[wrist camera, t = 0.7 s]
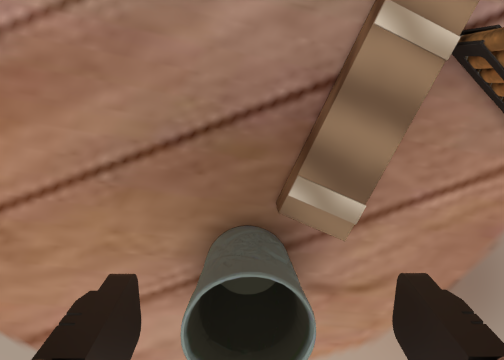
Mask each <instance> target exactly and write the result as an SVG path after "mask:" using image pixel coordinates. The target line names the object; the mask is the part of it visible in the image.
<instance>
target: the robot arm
mask: <svg viewBox="0 0 504 360" xmlns="http://www.w3.org/2000/svg"><path fill="white" fill-rule="evenodd" d="M393 330H394V333H395V337H396V339H397V341H398V343H399V344H400V346H401V348H402V350H403V351H404V353H405V355H406V356H407V359H408V360H504V343H503V342H502V341H501V340H500V339H499V338H498V337H497V335H496V334H495V333H494V332H493V331H492V330H491V329H490V328H489V327H488V326H487V325H486V324H483V321H482V320H481V319H480V318H479V317H478V316H477V315H476V314H474V311H473V310H472V309H471V308H470V307H469V306H468V305H467V304H466V303H465V302H464V301H463V300H462V299H461V298H459V297H457V296H456V295H454V294H452V293H451V292H449V291H447V290H442V289H441V288H440V287H439V286H438V285H437V284H436V283H435V282H434V281H433V279H432V278H431V277H430V276H429V275H428V274H426V273H401V274H399V276H398V279H397V285H396V293H395V301H394V310H393ZM140 331H141V310H140V299H139V289H138V279H137V276H136V274H110V275H108V277H107V278H106V280H105V281H104V283H103V284H102V285H101V287H100V288H99V290H98V291H89V292H88V293H86V294H85V295H84V296H82V297H81V298H79V299H78V300H76V301H75V302H74V304H73V305H72V306H71V308H70V309H69V310H68V312H67V314H66V315H65V316H64V317H63V318H62V320H61V321H60V322H59V326H56V328H55V329H54V330H53V332H52V333H51V334H50V336H49V337H48V338H47V340H46V341H45V342H44V344H43V345H42V346H41V348H40V349H39V350H38V352H37V353H36V354H35V356H34V357H33V358H32V360H130V359H131V357H132V355H133V352H134V350H135V347H136V345H137V342H138V340H139V336H140Z"/></svg>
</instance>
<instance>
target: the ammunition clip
mask: <svg viewBox="0 0 504 360" xmlns="http://www.w3.org/2000/svg"><path fill="white" fill-rule="evenodd" d="M459 37H460V39H459V41H458V43H457V45H456V46H455V48H454V50H453V52H452V55H453V56H454V57H455V58H456V59H457V60H458V61H459V63H460V64H461V65H462V66H463V67H464V68H465V69H466V71H467V72H468V73H469V74H470V75H471V76H472V77H473V79H474V80H475V81H476V82H477V83H478V84H479V85H480V87H481V88H482V89H483V90H484V91H485V92H486V93H487V95H488V96H489V97H490V98H491V99H492V100H493V101H494V102H495V104H496V105H497V106H498V107H499V108H500V109H501V110H502V112H503V113H504V27H503V28H502V27H501V26H500V25H494V26H488V27H482V28H475V29H469V30H463V31H462V32H461V34H460V36H459Z"/></svg>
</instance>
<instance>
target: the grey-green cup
mask: <svg viewBox="0 0 504 360" xmlns="http://www.w3.org/2000/svg"><path fill="white" fill-rule="evenodd" d="M315 339H316V323H315V318H314V313H313V311H312V308H311V306H310V304H309V302H308V300H307V298H306V296H305V294H304V292H303V290H302V288H301V286H300V283H299V281H298V278H297V275H296V273H295V271H294V268H293V266H292V263H291V262H290V259H289V256H288V254H287V251H286V249H285V247H284V246H283V244H282V243H281V241H280V240H279V239H278V238H277V237H276V236H275V235H273V234H272V233H271V232H269V231H267V230H265V229H262V228H260V227H255V226H240V227H236V228H232V229H230V230H228V231H226V232H225V233H223V234H222V235H221V236H219V237H218V238H217V240H216V241H215V242H214V243H213V244H212V246H211V248H210V250H209V252H208V255H207V258H206V260H205V264H204V268H203V270H202V273H201V275H200V278H199V281H198V284H197V287H196V289H195V291H194V293H193V295H192V297H191V299H190V301H189V304H188V306H187V309H186V311H185V314H184V317H183V321H182V325H181V345H182V348H183V352H184V354H185V356H186V358H187V360H307V359H308V358H309V356H310V355H311V353H312V350H313V347H314V344H315Z"/></svg>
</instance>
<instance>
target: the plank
mask: <svg viewBox="0 0 504 360" xmlns="http://www.w3.org/2000/svg"><path fill="white" fill-rule="evenodd" d="M478 2H479V0H376V1H375V3H374V5H373V7H372V9H371V11H370V13H369V15H368V17H367V19H366V21H365V23H364V25H363V27H362V29H361V31H360V33H359V35H358V38H357V40H356V42H355V44H354V46H353V48H352V50H351V52H350V54H349V56H348V58H347V60H346V62H345V64H344V66H343V68H342V70H341V72H340V74H339V76H338V78H337V80H336V82H335V84H334V86H333V88H332V90H331V92H330V94H329V96H328V98H327V100H326V102H325V104H324V107H323V109H322V111H321V113H320V115H319V117H318V119H317V121H316V123H315V125H314V127H313V129H312V131H311V133H310V135H309V137H308V139H307V141H306V143H305V145H304V147H303V149H302V151H301V153H300V155H299V157H298V159H297V161H296V163H295V165H294V167H293V169H292V171H291V173H290V175H289V178H288V180H287V182H286V184H285V186H284V188H283V190H282V192H281V194H280V196H279V198H278V200H277V202H276V205H277V209H278V213H279V214H282V215H284V216H286V217H289V218H291V219H293V220H296V221H298V222H300V223H303V224H305V225H308V226H310V227H312V228H315V229H317V230H319V231H322V232H324V233H326V234H329V235H331V236H333V237H336V238H338V239H340V240H343V241H346V239H347V237H348V235H349V233H350V232H351V230H352V228H353V226H354V225H355V224H357V222H358V220H359V218H360V217H361V215H362V213H363V211H364V209H365V208H366V203H367V201H368V199H369V198H370V196H371V194H372V192H373V190H374V189H375V187H376V185H377V183H378V181H379V180H380V178H381V176H382V174H383V172H384V171H385V169H386V167H387V165H388V163H389V162H390V160H391V158H392V156H393V154H394V153H395V151H396V149H397V147H398V145H399V144H400V142H401V140H402V138H403V136H404V135H405V133H406V131H407V129H408V128H409V126H410V124H411V122H412V120H413V119H414V117H415V115H416V113H417V111H418V110H419V108H420V106H421V104H422V102H423V101H424V99H425V97H426V95H427V93H428V92H429V90H430V88H431V86H432V84H433V83H434V81H435V79H436V77H437V75H438V74H439V72H440V70H441V68H442V66H443V65H444V63H445V61H446V60H448V59H449V57H450V55H451V53H452V52H453V50H454V48H455V46H456V45H457V43H458V41H459V39H460V37H459V36H460V34H461V32H462V31H463V29H464V27H465V25H466V23H467V22H468V20H469V18H470V16H471V14H472V13H473V11H474V9H475V7H476V5H477V4H478Z"/></svg>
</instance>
